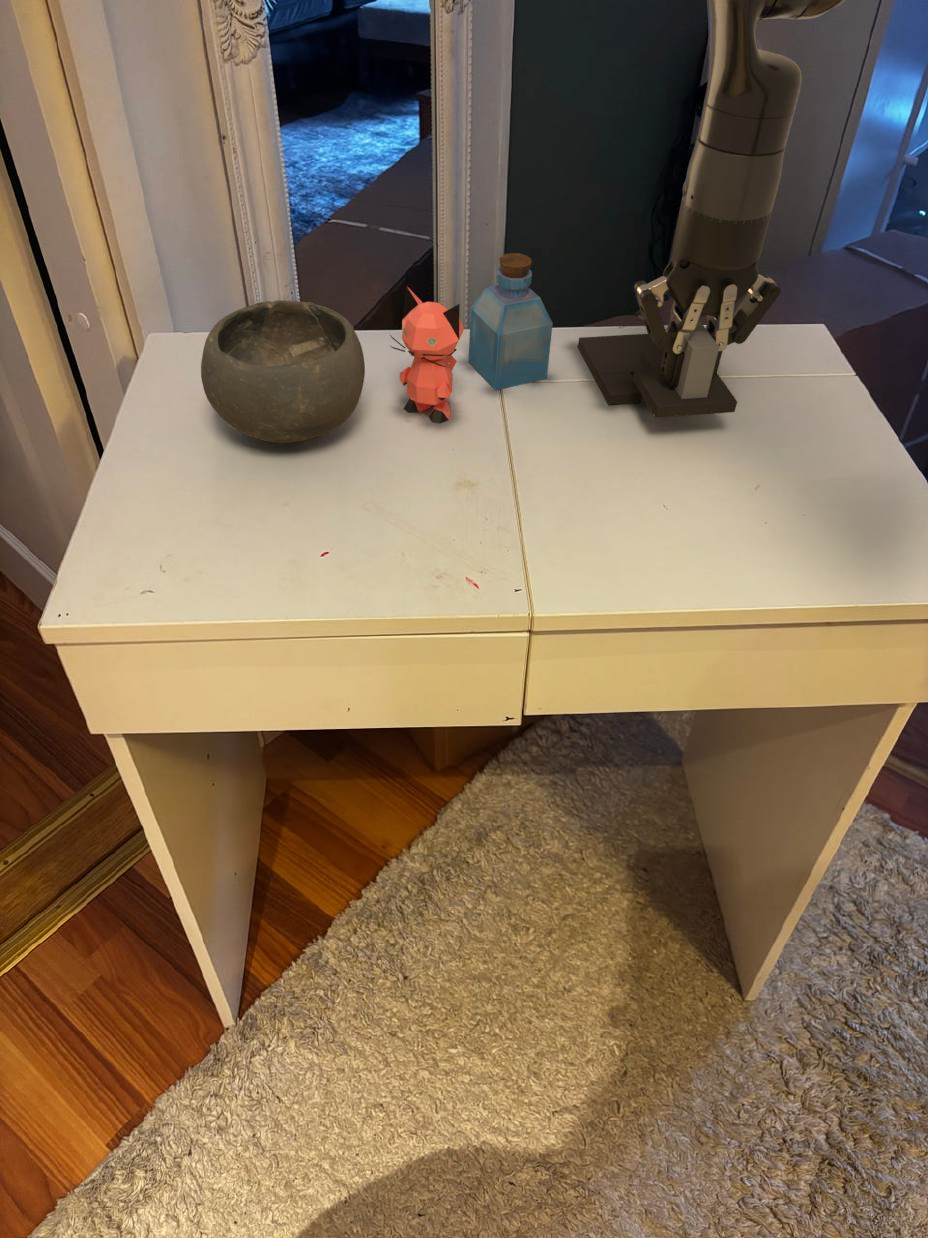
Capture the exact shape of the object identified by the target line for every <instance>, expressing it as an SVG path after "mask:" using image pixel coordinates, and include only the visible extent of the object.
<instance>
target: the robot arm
mask: <svg viewBox="0 0 928 1238" xmlns="http://www.w3.org/2000/svg"><path fill="white" fill-rule="evenodd" d="M844 2H846V0H706V10H707V29H708V31H707V33H708V53H707V54H708V55H707V56H708V57H707V58H708V63H707V64H708V68H707V84H706V90H705V94H704V100H703V104H702V109H701V110H702V111H701V115H700V120H699V124H698V130H697V136H696V139H695V144H694V147H693V150H692V153H691V156H690V159H689V162H688V166H687V170H686V176H685V180H684V183H683V185H682V197H681V201H680V206H679V212H678V217H677V222H676V227H675V232H674V237H673V242H672V251H671V258H670V260H669V261H668V264H666V266H665V268H664V270H663V273H662V276H660V277H658V278H656V279H654V280H651V281H650V282H648V283H647V282H646V281H645V280H638V281H637V282H635V284H634V285H633V291H634V295H635V298H636V302H637V304H638V307H639V310H640V314H641V317H642V320H643V323H644V325H645V330H646V332H647V334H649V336H650V338H651V339H652V341H653V342H654V344H655V345H656V347H657V348H659V349H662V348H664V352H663V357H662V362H661V367H660V373H661V376H662V377H663V379H664V380H665V382H666V383H667V384H668V386H669V387H677V386H678V383H679V378H680V374H681V369H682V365H683V360H684V356H685V353H684V352H683V351H684V350H685V348H686V345H687V342H688V339H689V336H690V334H691V332H693V331H694V330H695V328H696V325H697V322H698V321H700V318H703V317H705V316H706V327H705V328H706V330H707V331H708V332H709V334H710V335H711V336H712V338H713V339H714V340H715V342H716V343H717V344H718V346H719V351H718V355H717V359H716V363H715V367H714V371H713V375H712V379H714V378H715V376H716V375H717V374H718V371H719V367H720V362H721V359H722V355H723V352H724V350H726V348H727V347H728V346H730V345H732V344H734V343H735V344H737V345H742V344H744V343H746V341H747V339H748V338H749V337H750V335H751V334H752V333H753V332H754V330H755V329H756V327H757V326H758V324H759V323H760V322H761V320H762V319H763V318H764V316H765V315H766V314H767V312H768V311H769V309H771V307H772V306H773V304H774V303H775V301H776V300H777V299H778V297H779V296H780V294H781V288H780V287H779V286H778V284H777V283H776V282H775V281H774V280H773V278H771V277H770V276H769V275H768V274H759V269H758V261H759V259H760V257H761V255H762V252H763V248H764V243H765V239H766V236H767V232H768V229H769V225H770V221H771V217H772V214H773V210H774V206H775V205H774V204H775V201H776V198H777V194H778V190H779V187H780V183H781V178H782V173H783V164H784V158H785V152H786V146H787V143H788V140H789V136H790V131H791V127H792V124H793V121H794V115H795V112H796V108H797V104H798V100H799V96H800V94H801V93H800V92H801V87H802V82H803V81H802V80H803V79H802V78H803V77H802V76H803V75H802V71H801V68H800V66H799V65H798V64H797V62H796V61H794V60H793V59H791V58H789V57H787V56H785V55H782V54H778V53H775V52H771V51H768V50H763V49H760V48H758V45H757V40H756V27H757V22H758V21H804V20H805V21H806V20H814V19H818V18H821V17H823V16H825V15H827V14H828V13H830V12H832V11H834V10H836V9H837V8H838V7H839V6H841V5H842V4H843V3H844ZM667 291H668V292H669V294H670V296H671V298H672V300H673V301H672V304H671V307H670V310H669V321H668V324H667V327H666V328H665V324H664V321H663V317H662V314H661V311H660V308H661V307H662V306H663V304H664V301H665V298H664V297H665V293H666V292H667ZM745 294H746V295H745ZM743 296H745V297H744V298H743ZM742 298H743V300H742V301H741V302H740V304H739V305H738V306H737V308H736V309H735V305H736V304H737V303H738V302H739V301H740V300H741V299H742Z"/></svg>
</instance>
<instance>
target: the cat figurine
mask: <svg viewBox="0 0 928 1238" xmlns="http://www.w3.org/2000/svg"><path fill="white" fill-rule="evenodd" d="M404 294H405V295H404V301H403V302H404V304H403V311H402V312H403V313H402V321H401V325H402V326H401V339H402V342H403V344H404V345H403V344H402V343H400V342H399V341H398V340H397V339H396V338H395V337H393V336H392V335H391V334H389V336H390V338H391V339H392V340H393V341H394V342H396V343H397V344H399V346H401V347H402V348H403V349H401V348H398V347H395V346H391V345H390V344H388V346H389V347H390V348H391V349H394V350H397V351H400V352H404V353H406V350H405V349H406V348H407V350H408V351H407V353H409V355H410V356H411V357H413V360H412V364H411V365H410V366H408V367H405V368H404V369H403V370H401V371H400V372H399V378H398V380H399V381H400V383H401V384H402V385H403V387H405V386H406V395H407V396H408V397H409V398H408V400H407V402H406V404H405V405H404V406H403V410H404V411H405V412H407V413H420V412H423V411H425V410H427V409H429V408H431V407H432V406H433V408H432V410H431V412H430V413H429V415H428V418H429V419H430V421H431V423H435V424H442V423H445V422H448V421H449V420H450V416H451V408H450V406H449V403H448V400H449V398H450V396H451V395H452V393H453V385H454V384H453V383H454V381H453V379H454V374H453V369H454V368H455V366H456V364H457V362H458V360H457V359H456V358H455V357H454V356H453V355H454V353H455V352H457V350H458V349H457V346H458V344H459V342H460V340H461V337H462V335H463V333H464V331H465V326H464V325H463V321H462V320H461V317H460V305H461V304H460V303H458V304H455V306H453V307H451V308H448V307H446V306H444V305H442V304H441V303H439V302H435V301H425V302H423V301H422V300H421V299H420V298H419V297H418V296H417V295H416V294H415V293H414V292H413V291H412V289H410V287H408V285H406V286H405V293H404Z"/></svg>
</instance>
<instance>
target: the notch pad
mask: <svg viewBox="0 0 928 1238" xmlns="http://www.w3.org/2000/svg"><path fill="white" fill-rule="evenodd" d="M577 349H578V350H579V352H580V354H581V356H582V358H583V360H584V361H585V363H586V364H585V365H587V367H588V369H589V372H590V373H591V375H592V376H593V379H594V381H595V382H596V384H597V386H598V388H599V389H600V391H601V394H602V395H603V397H604V399H605V401H606V403H607V404H608V406H616V405H628V404H641V402H642V401H641V400H642V394H641V392H640V391H639V389H638V387H637V386H636V384H635V382H634V381H633V377H634V372H635V369H645V368H644V366H643V364H642V363H641V361H640V357H641V352H642V350H651V349H659V348H657V347H656V345H655V344H654V342H653V341H652V339H651V338H650V336H649V334H648V333H636V334H634V333H633V334H619V335H618V334H617V335H599V336H585V337H584V336H583V337H579V338H578V345H577ZM662 349H664V348H662Z"/></svg>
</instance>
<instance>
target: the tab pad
mask: <svg viewBox="0 0 928 1238" xmlns="http://www.w3.org/2000/svg"><path fill="white" fill-rule="evenodd" d="M718 351H719V346H718V344H717V343H716V342H715V340H714V339H713V338H712V336H711V335H710V334H709V332H708V331H707V330H706V327H705V326H704V324H703V323H702V322H701V320H698V322H697V325H696V328H695V330H694V331H693V332H691V334H690V336H689V339H688V342H687V345H686V348H685V350H684V351H683V352H684V353H685V356H684V360H683V365H682V369H681V374H680V378H679V383H678V386H677V387H669V386H668V384H667V383H666V382H665V380H664V379H663V377H662V376H661V373H660V367H661V362H662V357H663V352H664V349H651V350H642V352H641V357H640V361H641V363H642V364H643V366H644V368H645V369H635V372H634V377H633V381H634V382H635V384H636V386H637V387H638V389H639V391H640V392H641V394H642V395H641V397H643V399H644V401H645V403H646V405H647V406H648V407H649V409H650V411H651V413H652V414H653V416H654V418H655V419H659V418H674V417H687V416H700V415H712V414H713V415H715V414H725V413H726V414H727V413H735V411H736V408H737V405H738V400H737V398H736V397H735V396H734V394H733V393H732V392H731V391H730V389H729V387H728V386H727V385H726V383H725V382H724V380H723V379H722V378H721V377H720V375H719V373H717V375H716V376H715V378H714V379H712V375H713V371H714V367H715V363H716V359H717V355H718Z"/></svg>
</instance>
